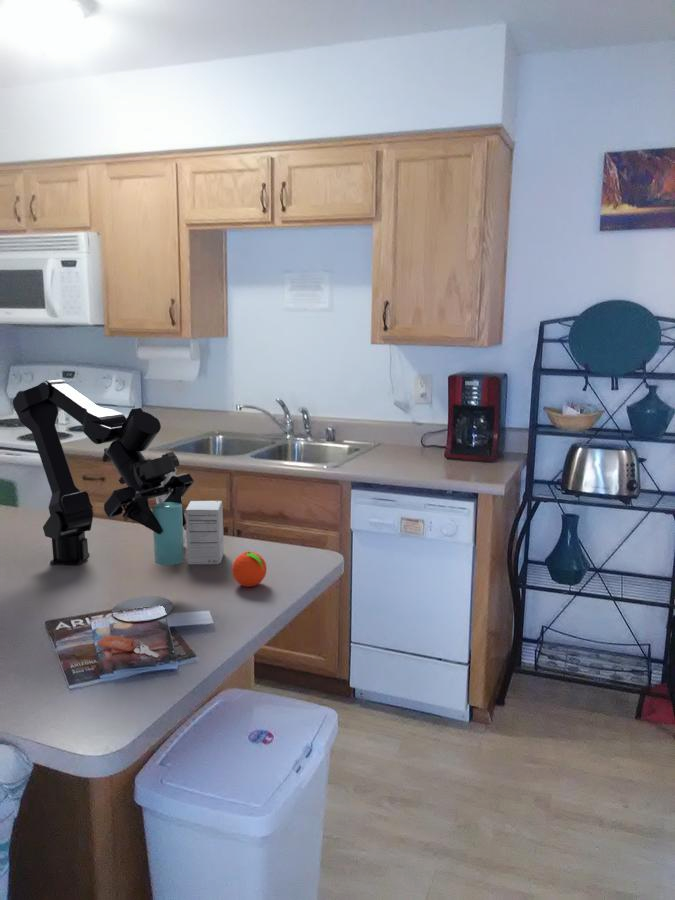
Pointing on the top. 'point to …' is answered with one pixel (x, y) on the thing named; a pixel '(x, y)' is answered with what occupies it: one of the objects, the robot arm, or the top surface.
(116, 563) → the top surface
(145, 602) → the coaster
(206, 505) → the supplement box
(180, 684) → the top surface
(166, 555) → the cylinder
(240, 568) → the clementine
